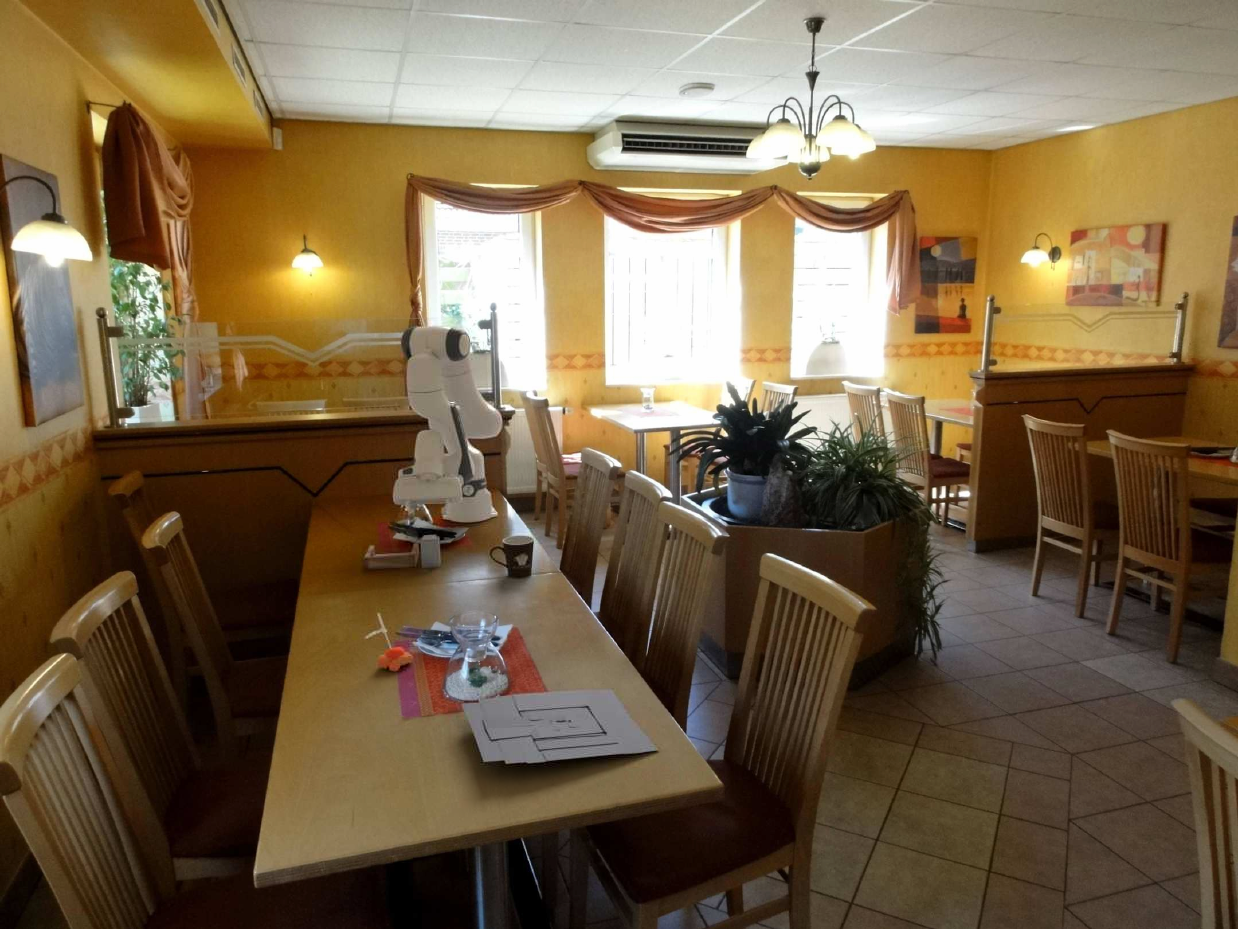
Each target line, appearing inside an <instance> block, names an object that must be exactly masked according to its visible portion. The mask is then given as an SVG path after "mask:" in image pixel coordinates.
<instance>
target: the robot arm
mask: <svg viewBox="0 0 1238 929" xmlns="http://www.w3.org/2000/svg"><path fill="white" fill-rule="evenodd" d="M400 346H401V347H400V348H401V351H402V353H403V355H404V356H405V358H406V359H407V367H406V389H407V397H408V403H409V406H410V407H411V409H412V410H413V412H414V413H415V414H417V415H419V416H420V417H422V418H425V419H426V420H427V419H428V427H429V429H424V430H423V429H422V430H421V431H419V432H418V433H417V435H416V440H415V445H414V446H415V447H414V456H413V457H412V459H413V460H412V461H413V462H412V465H411V466H408V467H405V468H402V469H400V470H398V478H397V479H396V480H395V482H394V486H393V492H392V498H393V499H392V500H393V503H394V504H395V505H399V506H400V505H405V508H406V510H407V511H408V517H415V509H414V508H411V505H428V504H429V505H432V504H433V505H434V504H445V505H444V506H443V507H441V508H440V509H441V511H440V513H441V514H440V515H441V516H442V519H443V520H448V521H452V522H456V523H457V522H458V523H476V522H481V521H482V522H483V521H486V520H489V519H492V518H496V517H498V516H499V514H498V512H497V511H496V509H495V508H494V507H493V502H492V493H491V492H490V491H489V490H488V489H487V477H486V476H485V460H484V455H483V453H482V452H481V450H479V449H477V448H475V447H474V446H473V445H472V444H471V443H470V441H469V439H489V438H494V437H497V436H498V435H499V434H500V432H501V430H502V428H503V418H502V415H501V413H500V411H499V410H498V409H497V408H495V407H493V406H492V405H491V404H490V403H488V402H487V401H486V399H485V398H484V397H483V396H482V395H481V393H480V392H479V389H478V387H477V384H476V380H475V376H474V371H473V367H472V366H473V365H472V363H471V358H470V354H469V353H470V350H471V338H470V336H469V334H468V333H467V331H466V330H465V329H463V328H460V327H457V326H452V327H451V326H443V325H432V326H430V325H427V326H411V327H408V328H406V329H405V331H403V333H402V335H401V338H400ZM455 404H456V405H455ZM445 448H446V451H447V452H448V453H445Z"/></svg>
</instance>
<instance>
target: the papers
mask: <svg viewBox="0 0 1238 929" xmlns="http://www.w3.org/2000/svg"><path fill="white" fill-rule="evenodd" d="M477 700H478V702H468V703H461V704H460V705H461V706H462V710H463V711H464V714H465V716H466V718H467V721H468V724H469V726H470V728H471V730H472V733H473V736H474V738H475V741H476V744H477V746H478V750H479V752H480V756H481V758H482V760H483V762H484V763H485V762H498V761H504V763H505V764H517V763H527V764H534V763H544V762H545V763H546V762H548V763H549V762H551V761H558V760H559V761H560V760H570V759H580V758H589V757H590V758H591V757H601V756H609V755H626V754H627V755H628V754H639V753H647V752H653V751H654V752H655V751H659V750H660V749H659V748H658V747H657V746H656V745H655V744H654V742H653V740H651V739H650V738H649V736H648V735H647V734H646V733H645V732H644V731H643V730H642V728H641V727H640V726H639V725H638V724H637V722H636V721H634V719H633V718H632V717H631V716H630V713H629V712H628V711H627V709H626V708H625V707H624V705H623V704H622V702H621V701H620V699H619V698H618V696H617V695H616V693H615V691H614V690H613V689H575V690H574V689H573V690H559V691H545V692H542V691H541V692H531V693H530V692H528V693H518V694H516V693H515V694H512V695H501V696H499V695H498V696H495V697H490V698H489V697H488V698H479V699H477Z"/></svg>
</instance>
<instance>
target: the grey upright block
mask: <svg viewBox="0 0 1238 929" xmlns="http://www.w3.org/2000/svg"><path fill="white" fill-rule="evenodd" d="M419 544H420V554H421V555H420V556H421V557H420V558H421V568H422V569H429V568H431V569H432V568H440V567H441V564H442V563H441V562H442V560H441V547H440V546H441V545H440V536H437V534H427V535H425V534H424V535H423V536H422V537H421V538H420V542H419Z"/></svg>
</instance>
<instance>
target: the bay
mask: <svg viewBox="0 0 1238 929" xmlns="http://www.w3.org/2000/svg"><path fill="white" fill-rule="evenodd" d="M419 544H420V543H419V542H413V546H412V549H411V551H410V552H398V553H397V552H396V553H382V554H381V553H379V554H378V553H377V554H376V549H375V548H376V546H375V545H373V544H372V545H371V544H370V545H369V547H368V549H367V551H366V554H365V555H364V558H363V562H364V570H365V571H368V570H382V569H383V570H384V569H402V568H415V567H416V566H417V562H418V559H419V555H420V550H419V549H420V548H419V547H420V546H419Z"/></svg>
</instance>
